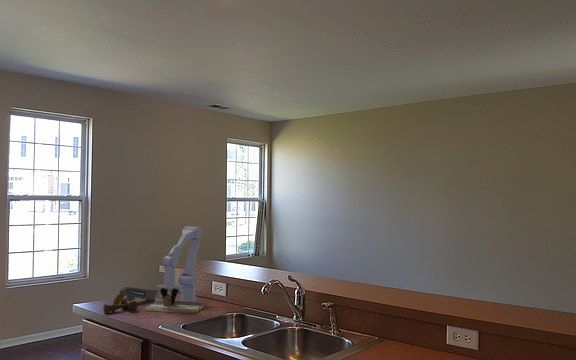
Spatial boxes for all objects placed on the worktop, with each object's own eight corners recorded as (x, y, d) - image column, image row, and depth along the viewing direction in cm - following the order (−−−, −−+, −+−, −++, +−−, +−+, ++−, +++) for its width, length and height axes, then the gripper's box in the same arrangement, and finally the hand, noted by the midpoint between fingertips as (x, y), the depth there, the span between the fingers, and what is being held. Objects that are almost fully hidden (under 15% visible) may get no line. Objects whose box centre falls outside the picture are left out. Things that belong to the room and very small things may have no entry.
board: (155, 305, 276) (156, 299, 276) (203, 308, 271) (203, 301, 271) (145, 310, 263) (145, 304, 263) (194, 313, 258) (194, 306, 258)
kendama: (100, 313, 259) (135, 306, 273) (108, 316, 252) (144, 309, 266) (100, 301, 259) (136, 295, 273) (108, 305, 252) (144, 298, 266)
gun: (150, 315, 288) (159, 290, 293) (113, 305, 272) (123, 279, 276) (147, 314, 290) (156, 289, 295) (111, 304, 274) (121, 278, 279)
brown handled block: (167, 304, 273) (167, 294, 273) (174, 304, 272) (174, 294, 272) (159, 308, 263) (159, 297, 263) (166, 308, 262) (166, 298, 262)
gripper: (154, 278, 268) (153, 303, 267) (179, 279, 265) (178, 304, 265) (159, 276, 275) (159, 300, 274) (184, 277, 272) (183, 302, 272)
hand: (169, 302), depth 270 cm, fingers closed on brown handled block, 4 cm apart
